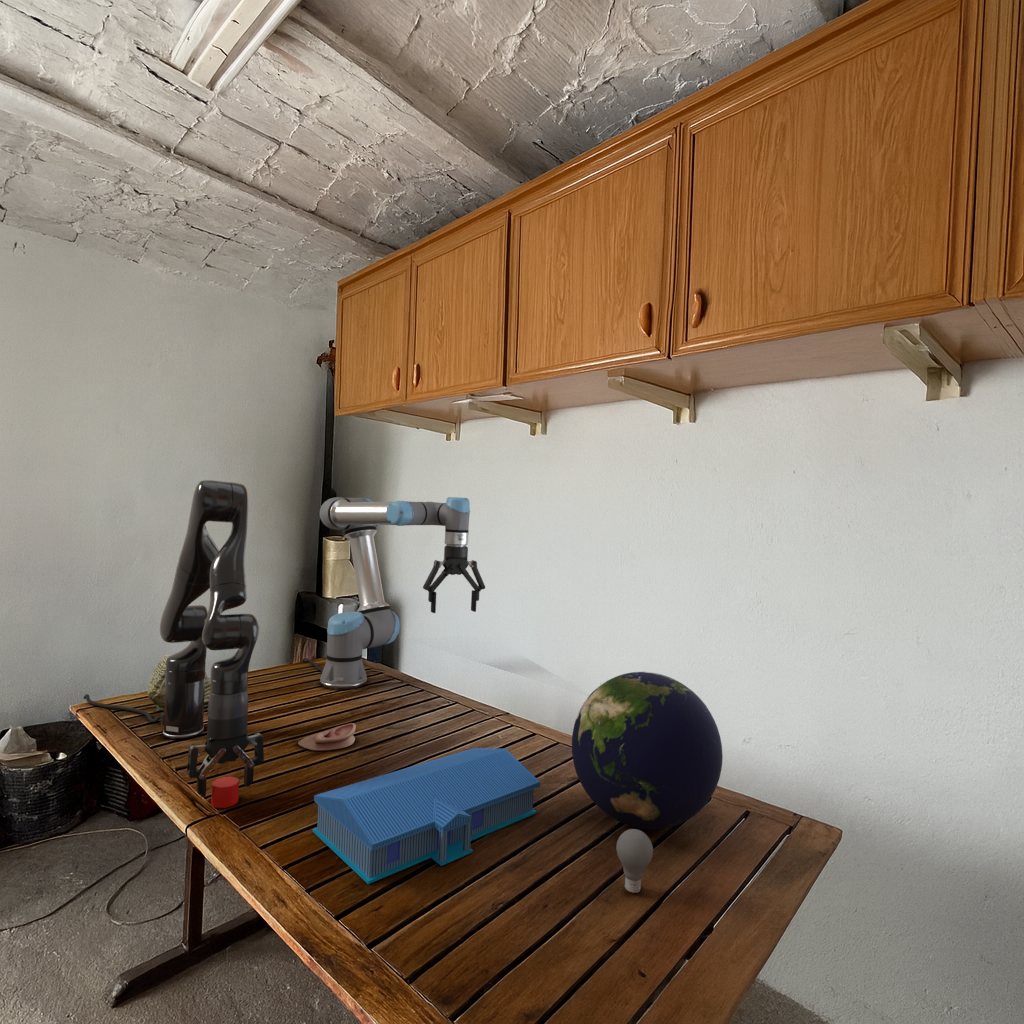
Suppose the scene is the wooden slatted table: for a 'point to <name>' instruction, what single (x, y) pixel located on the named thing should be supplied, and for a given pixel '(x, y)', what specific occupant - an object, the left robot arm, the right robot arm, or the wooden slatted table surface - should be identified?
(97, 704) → the left robot arm
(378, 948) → the wooden slatted table surface
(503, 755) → the model building
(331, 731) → the anatomical model
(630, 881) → the light bulb
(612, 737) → the globe
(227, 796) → the tin
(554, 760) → the wooden slatted table surface
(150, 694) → the fossil
